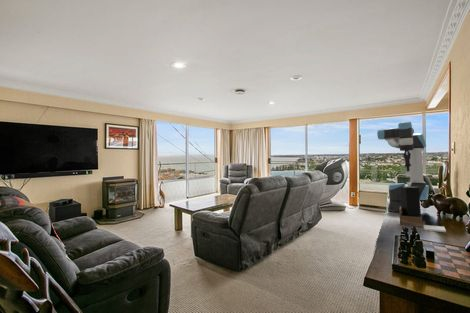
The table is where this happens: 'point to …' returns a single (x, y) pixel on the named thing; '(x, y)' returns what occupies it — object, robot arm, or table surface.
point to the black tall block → (410, 201)
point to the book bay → (410, 220)
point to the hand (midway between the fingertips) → (408, 176)
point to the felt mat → (434, 228)
